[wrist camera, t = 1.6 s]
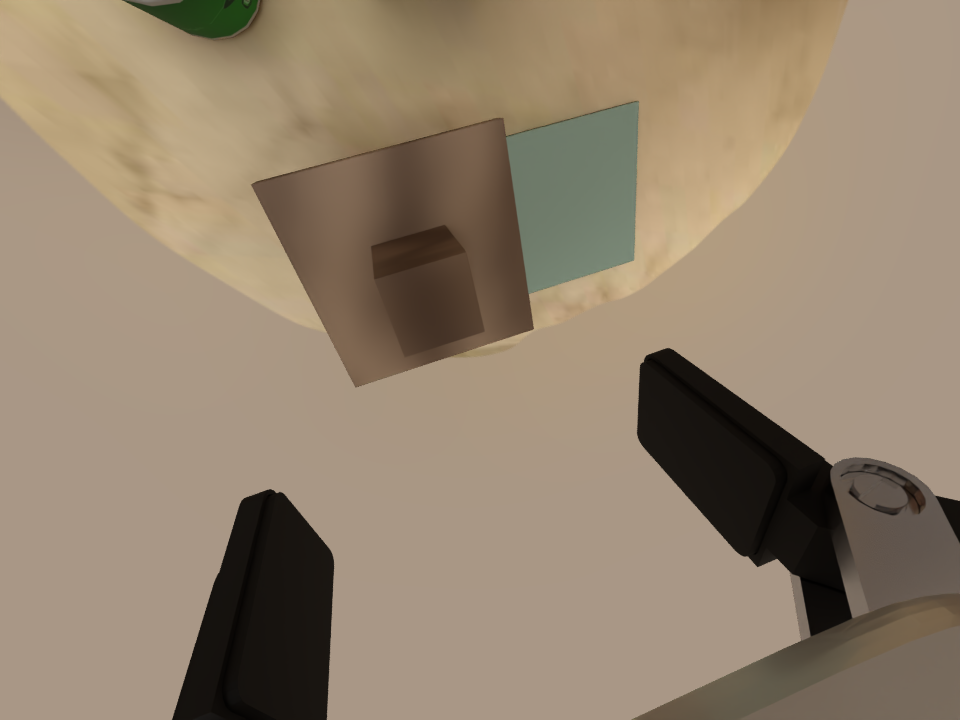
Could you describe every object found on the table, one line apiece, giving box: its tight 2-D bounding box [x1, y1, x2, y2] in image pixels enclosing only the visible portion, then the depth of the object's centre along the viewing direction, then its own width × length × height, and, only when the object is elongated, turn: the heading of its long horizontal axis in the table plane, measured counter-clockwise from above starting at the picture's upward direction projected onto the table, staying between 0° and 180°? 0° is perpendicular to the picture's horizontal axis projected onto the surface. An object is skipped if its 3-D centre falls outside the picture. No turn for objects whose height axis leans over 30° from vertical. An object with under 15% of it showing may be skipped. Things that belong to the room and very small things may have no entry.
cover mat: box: [506, 101, 639, 294], centre depth 38 cm, size 15×15×1 cm
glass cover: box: [251, 118, 534, 387], centre depth 19 cm, size 12×12×6 cm
